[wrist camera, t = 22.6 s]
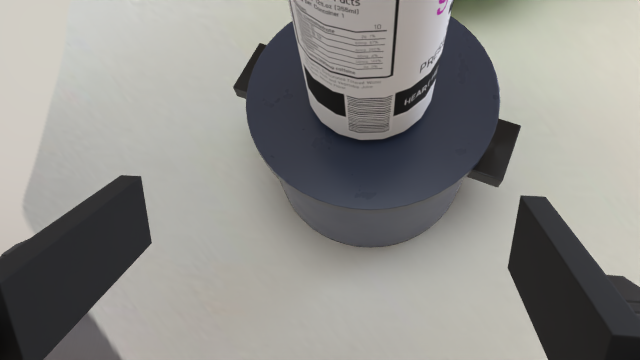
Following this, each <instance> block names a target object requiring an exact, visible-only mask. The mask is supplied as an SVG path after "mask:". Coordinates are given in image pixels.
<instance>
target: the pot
mask: <svg viewBox="0 0 640 360" xmlns="http://www.w3.org/2000/svg"><path fill="white" fill-rule="evenodd" d="M233 88H234V90H235V92H236V94H237V96H239V97H242V98H245V99H246V112H247V121H248V125H249V129H250V133H251V136H252V138H253V140H254V143H255V145H256V147H257V149H258V151H259V153H260V155H261V157H262V158H263V160H264V161H265V163H266V164H267V166H268V167H269V168H270V169H271V171H272V172H273V173H274V174H275V175H276V176H277V177H278V178H279V180H280V182H281V184H282V186H283V188H284V191H285V193H286V195H287V197H288V199H289V202H290V203H291V205H292V206H293V208H294V209H295V211H296V212H297V213H298V215H299V216H300V217H301V218H302V219H303V220H304V221H305V222H306V223H307V224H308V225H309V226H311V227H312V228H313V229H315V230H316V231H318V232H319V233H321V234H322V235H324V236H326V237H328V238H330V239H332V240H335V241H338V242H341V243H344V244H348V245H353V246H359V247H383V246H389V245H394V244H398V243H401V242H404V241H407V240H409V239H411V238H413V237H416V236H418V235H419V234H421V233H423V232H424V231H426V230H427V229H429V228H430V227H431V226H432V225H433V224H435V223H436V222H437V221H438V220H439V219H440V218H441V217H442V215H443V214H444V213H445V212H446V211H447V209H448V208H449V206H450V205H451V203H452V201H453V199H454V197H455V195H456V193H457V191H458V189H459V187H460V185H461V183H462V181H463V179H464V178H465V177H466V176H467V177H469V178H472V179H475V180H478V181H481V182H484V183H486V184H489V185H492V186H495V187H499V185H500V184H501V182H502V181H503V178H504V175H505V172H506V169H507V166H508V163H509V160H510V157H511V154H512V152H513V149H514V146H515V143H516V140H517V137H518V134H519V131H520V128H521V126H520V125H517V124H514V123H511V122H508V121H505V120H501V119H498V118H499V109H500V91H499V84H498V80H497V75H496V72H495V69H494V67H493V64H492V62H491V60H490V58H489V56H488V54H487V53H486V51H485V49H484V47H483V46H482V45H481V44H480V42H479V41H478V40H477V38H476V37H475V36H474V35H473V34H472V33H471V32H470V31H469V30H468V29H467V28H466V27H465V26H464V25H462V24H461V23H460V22H458V21H457V20H456V19H454V18H453V17H451V16H450V19H449V23H448V28H447V32H446V36H445V41H444V45H443V50H442V54H441V58H440V63H439V67H438V72H437V76H436V80H435V85H434V89H433V94H432V98H431V101H430V103H429V105H428V107H427V108H426V110H425V112H424V114H423V115H422V117H421V118H420V119H419V120H418V121H417V122H415V123H414V124H413V125H412V126H410V127H409V128H408V129H407V130H405V131H404V132H401V133H399V134H396V135H393V136H390V137H387V138H385V139H372V140H358V139H355V138H351V137H348V136H344V135H341V134H338V133H337V132H335V131H334V130H332V129H331V128H329V127H328V126H327V125H325V124H324V123H322V122H321V121H320V119H319V118H318V116H317V115H316V113H315V112H314V110H313V109H312V107H311V105H310V100H309V96H308V91H307V86H306V82H305V77H304V72H303V68H302V63H301V58H300V54H299V49H298V44H297V40H296V35H295V30H294V26H293V21H292V22H290V23H289V24H287V25H286V26H285V27H284V28H283V29H282V30H281V31H279V32H278V33H277V34H276V35H275V36H274V38H273V39H272V40H271V41H270V42H269V43H268V44H267V45H264V44H261V43H259V45H258V47H257V48H256V50H255V52H254V53H253V55H252V57H251V58H250V60H249V62H248V63H247V65H246V67H245V68H244V70H243V72H242V73H241V75H240V77H239V78H238V80H237V82H236V83H235V85H234V87H233Z"/></svg>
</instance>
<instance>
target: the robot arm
mask: <svg viewBox="0 0 640 360" xmlns="http://www.w3.org/2000/svg"><path fill="white" fill-rule="evenodd" d="M151 243H152V242H151V236H150V230H149V223H148V217H147V211H146V205H145V199H144V192H143V186H142V180H141V176H124V175H121V176H119V177H118V178H117V179H115V180H114V181H112V182H111V183H109V184H108V185H106V186H105V187H104V188H102V189H101V190H99V191H98V192H96V193H95V194H93V195H92V196H91V197H89V198H88V199H86V200H85V201H83V202H82V203H80V204H79V205H78V206H76V207H75V208H73V209H72V210H70V211H69V212H68V213H66V214H65V215H63V216H62V217H60V218H59V219H57V220H56V221H55V222H53V223H52V224H50V225H49V226H47V227H46V228H44V229H43V230H42V231H40V232H39V233H37V234H36V235H34V236H33V237H32V238H30V239H28V240H25V241H23V242H21V243H18V244H16V245H14V246H13V247H12V248H10V249H9V250H7V251H6V252H4V253H3V254H2V255H1V257H0V360H43V359H44V358H45V357H46V356H47V355H48V354H49V353H50V352H51V351H52V349H53V348H54V347H55V346H56V345H57V344H58V343H59V342H60V341H61V340H62V339H63V338H64V337H65V336H66V334H67V333H68V332H69V331H70V330H71V329H72V328H73V327H74V326H75V325H76V324H77V323H78V322H79V320H80V319H81V318H82V317H83V316H84V315H85V314H86V313H87V312H88V311H89V310H90V309H91V308H92V307H93V305H94V304H95V303H96V302H97V301H98V300H99V299H100V298H101V297H102V296H103V295H104V294H105V293H106V292H107V290H108V289H109V288H110V287H111V286H112V285H113V284H114V283H115V282H116V281H117V280H118V279H119V278H120V276H121V275H122V274H123V273H124V272H125V271H126V270H127V269H128V268H129V267H130V266H131V265H132V264H133V263H134V261H135V260H136V259H137V258H138V257H139V256H140V255H141V254H142V253H143V252H144V251H145V250H146V249H147V248H148V246H149V245H150V244H151ZM508 269H509V272H510V274H511V276H512V278H513V281H514V283H515V285H516V288H517V290H518V292H519V294H520V297H521V299H522V301H523V303H524V306H525V308H526V310H527V313H528V315H529V317H530V319H531V322H532V324H533V326H534V328H535V331H536V333H537V335H538V338H539V340H540V342H541V344H542V347H543V349H544V351H545V353H546V356H547V358H548V360H640V287H639V286H637V285H635V284H634V283H632V282H631V281H629V280H628V279H626V278H625V277H623V276H613V275H606V274H605V273H604V272H603V270H602V269H601V268H600V267H599V265H598V264H597V263H596V261H595V260H594V259H593V258H592V256H591V255H590V254H589V252H588V251H587V250H586V249H585V247H584V246H583V245H582V243H581V242H580V241H579V239H578V238H577V237H576V236H575V234H574V233H573V232H572V230H571V229H570V228H569V227H568V225H567V224H566V223H565V221H564V220H563V219H562V218H561V216H560V215H559V214H558V212H557V211H556V210H555V209H554V207H553V206H552V205H551V203H550V202H549V201H548V199H547V198H546V197H539V196H521V197H520V202H519V208H518V214H517V219H516V225H515V230H514V236H513V241H512V247H511V253H510V258H509V264H508Z"/></svg>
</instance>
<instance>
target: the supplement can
mask: <svg viewBox="0 0 640 360" xmlns="http://www.w3.org/2000/svg"><path fill="white" fill-rule="evenodd" d="M453 1H454V0H288V2H289V7H290V12H291V16H292V21H293V26H294V30H295V35H296V40H297V44H298V49H299V54H300V58H301V63H302V68H303V72H304V77H305V82H306V86H307V91H308V96H309V100H310V105H311V107H312V109H313V110H314V112H315V113H316V115H317V116H318V118H319V119H320V121H321V122H322V123H324V124H325V125H327V126H328V127H329V128H331V129H332V130H334V131H335V132H337V133H338V134H341V135H344V136H348V137H351V138H355V139H358V140H372V139H385V138H387V137H390V136H393V135H396V134H399V133H401V132H404V131H405V130H407V129H408V128H409V127H410V126H412V125H413V124H414V123H415V122H417V121H418V120H419V119H420V118H421V117H422V115H423V114H424V112H425V110H426V108H427V107H428V105H429V103H430V101H431V98H432V94H433V89H434V85H435V80H436V76H437V72H438V67H439V63H440V58H441V54H442V50H443V45H444V41H445V36H446V32H447V28H448V23H449V19H450V14H451V10H452V5H453Z"/></svg>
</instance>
